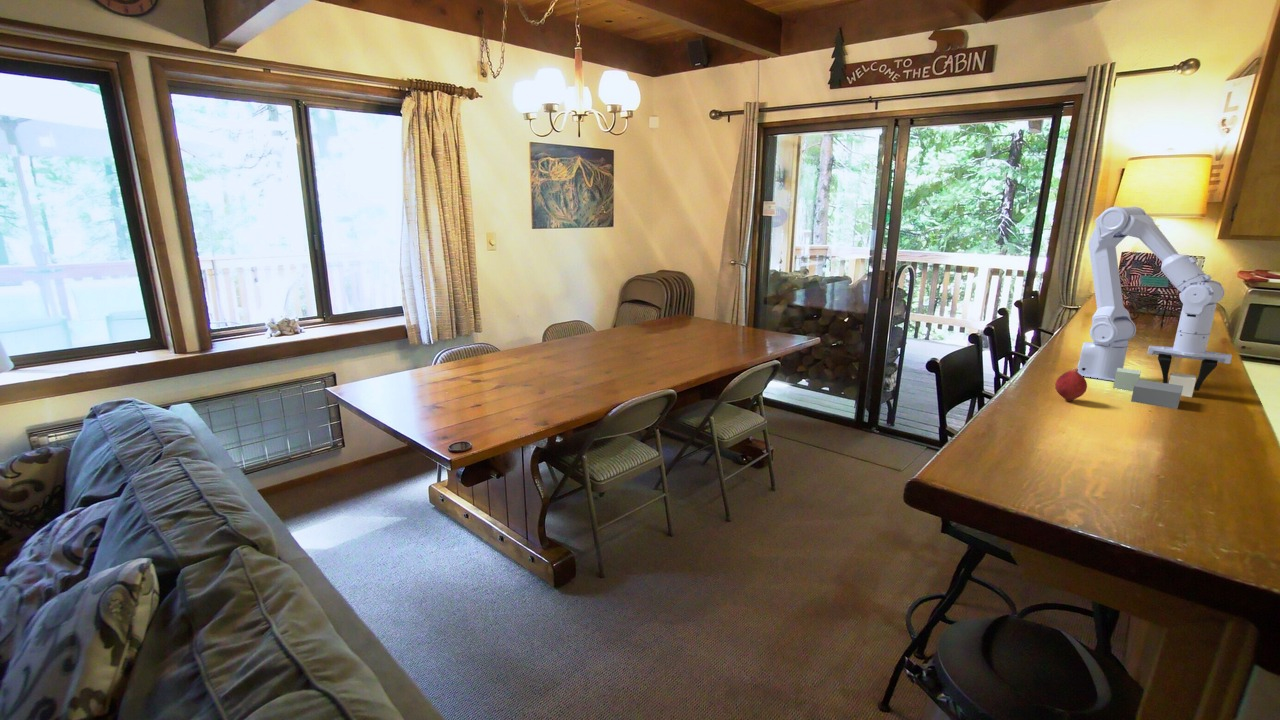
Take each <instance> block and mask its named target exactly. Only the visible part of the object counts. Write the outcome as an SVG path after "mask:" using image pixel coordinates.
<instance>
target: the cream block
mask: <svg viewBox="0 0 1280 720" xmlns="http://www.w3.org/2000/svg"><path fill="white" fill-rule="evenodd" d="M1196 381H1197V375H1195V374H1194V375H1193V374H1186V373H1178V372H1173V371H1172V372H1170V374H1169V377H1168V382H1167V384H1174V385H1181V386H1183V389H1182V394H1181V397H1189V398H1192V397H1193V394H1194V391H1195V384H1196Z"/></svg>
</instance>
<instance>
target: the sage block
mask: <svg viewBox="0 0 1280 720" xmlns="http://www.w3.org/2000/svg"><path fill="white" fill-rule="evenodd" d="M1141 372H1142V371H1141V370H1139V369H1138V370H1136V369H1129V368H1124V367H1123V368H1117V371H1116V375H1115V380H1114V381H1113V385H1112V389H1115V388H1117V389H1116V390H1121V389H1122V390H1121V391H1130V392H1133V389H1134V386H1135V384H1136V382H1137V381H1138V379H1140V377H1141Z"/></svg>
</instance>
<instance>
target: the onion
mask: <svg viewBox="0 0 1280 720" xmlns="http://www.w3.org/2000/svg"><path fill="white" fill-rule="evenodd" d="M1054 386H1055V387H1054V388H1055V390H1056V392H1057V393H1058V394H1059V396H1060V397H1062V398H1063V399H1064V400H1065V401H1066V402H1072V401H1073V400H1075V399H1079V398H1080V397H1082V396H1083V395H1084V394H1085V393H1086V391H1087V387H1088V383H1087V381H1086V379H1085V377H1083V376H1082V375H1081V374H1079V373H1078V368H1077V367H1073V368H1072V369H1071V370H1069V371H1066V372H1064V373H1062V374H1061V375H1060V376H1059V377H1058V378H1057V379H1056V382H1055V385H1054Z"/></svg>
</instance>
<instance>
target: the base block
mask: <svg viewBox="0 0 1280 720" xmlns="http://www.w3.org/2000/svg"><path fill="white" fill-rule="evenodd" d="M1182 389H1183V386H1181V385H1174V384H1168V382H1167V383H1163V382H1160V381H1151V380H1147V379H1140V378H1139V379H1138V381H1137V382H1136V384H1135V386H1134V389H1133V391H1132V395H1131V399H1130V402H1132V403H1138V404H1143V405H1149V406H1155V407H1161V408H1168V409H1174V410H1178V409H1179V405H1180V401H1181V397H1182V396H1181V394H1182Z"/></svg>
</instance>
